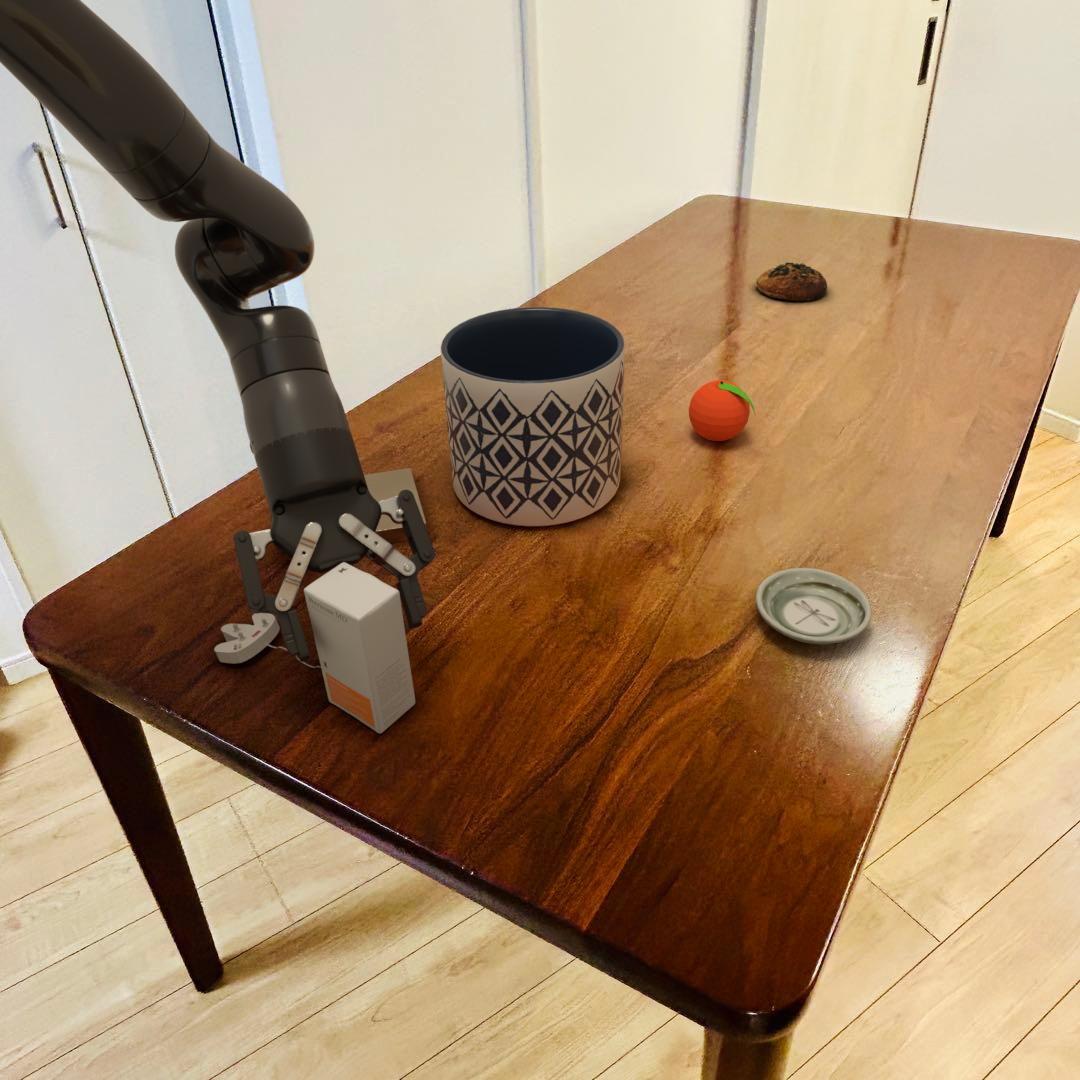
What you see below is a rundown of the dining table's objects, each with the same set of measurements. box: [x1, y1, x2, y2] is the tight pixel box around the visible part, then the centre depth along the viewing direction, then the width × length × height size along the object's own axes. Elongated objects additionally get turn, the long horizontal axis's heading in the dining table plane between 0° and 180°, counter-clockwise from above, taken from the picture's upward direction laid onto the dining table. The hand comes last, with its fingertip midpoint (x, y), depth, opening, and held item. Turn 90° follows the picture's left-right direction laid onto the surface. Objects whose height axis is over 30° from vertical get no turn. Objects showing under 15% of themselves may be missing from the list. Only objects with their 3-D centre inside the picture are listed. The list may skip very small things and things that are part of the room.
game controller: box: [214, 613, 321, 669], centre depth 77 cm, size 6×12×3 cm, turn 80°
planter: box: [440, 306, 626, 527], centre depth 93 cm, size 18×18×16 cm
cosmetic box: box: [303, 562, 416, 735], centre depth 69 cm, size 6×4×12 cm
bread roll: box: [754, 262, 828, 303], centre depth 141 cm, size 11×11×5 cm
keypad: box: [283, 467, 428, 562], centre depth 93 cm, size 14×11×4 cm
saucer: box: [755, 567, 873, 645], centre depth 78 cm, size 10×10×2 cm
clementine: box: [688, 379, 756, 442], centre depth 103 cm, size 8×7×7 cm
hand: (362, 643), depth 68 cm, fingers open, 8 cm apart
